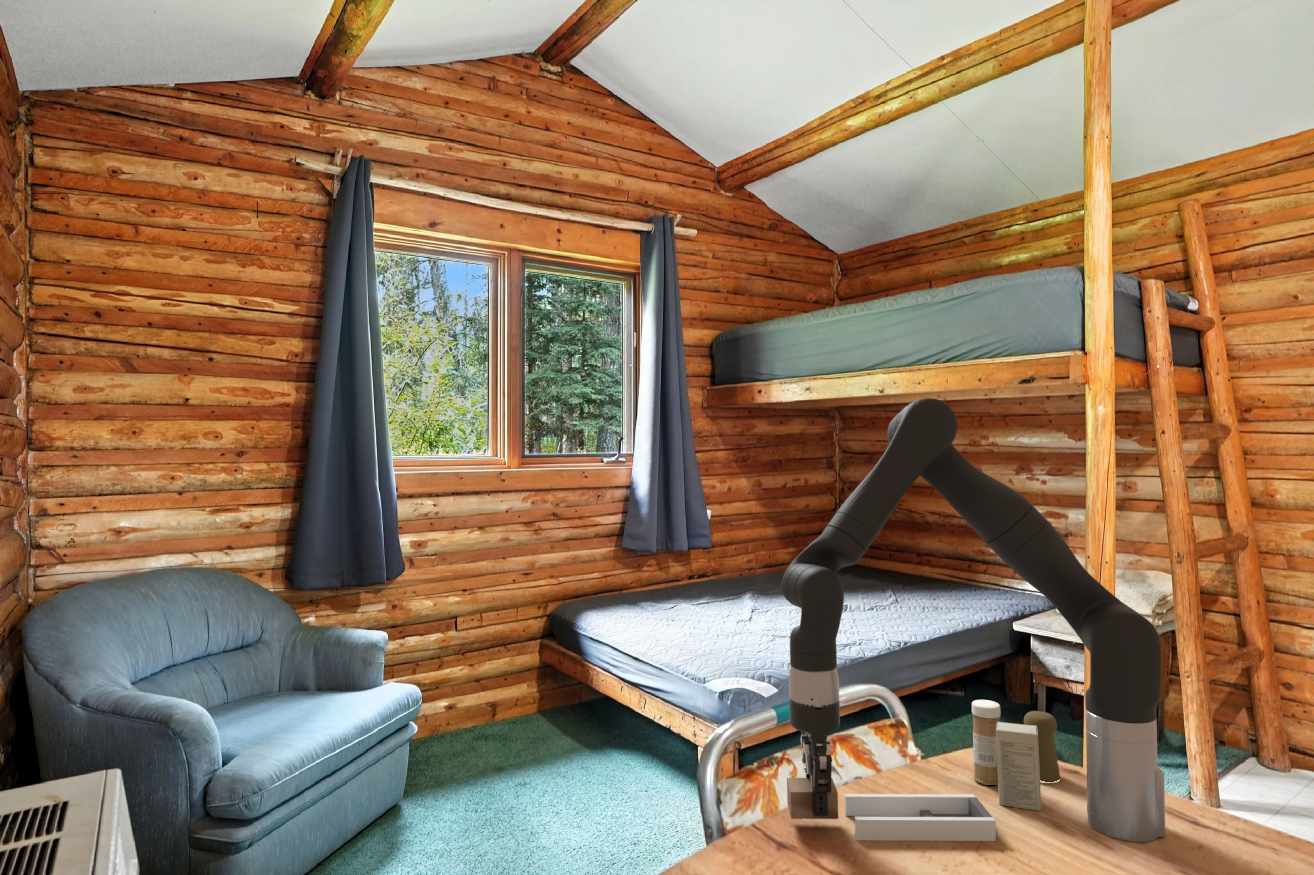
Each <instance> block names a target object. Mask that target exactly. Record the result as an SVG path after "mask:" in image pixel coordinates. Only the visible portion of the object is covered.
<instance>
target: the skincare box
mask: <svg viewBox="0 0 1314 875" xmlns="http://www.w3.org/2000/svg"><path fill="white" fill-rule="evenodd" d="M996 745H997V767H998V785H997V787H998V804H999V806H1006V807H1011V806H1012V808H1013V807H1014V808H1020V809H1026V810H1031V811H1032V810H1033V811H1042V797H1041V796H1042V795H1041V794H1042V793H1041V791H1042V790H1041V783H1040V768H1039V747H1038V729H1037V726H1034V725H1024V723H1023V724H1022V723H1013V722H1012V723H1011V722H1003V721H999V722H997V724H996Z"/></svg>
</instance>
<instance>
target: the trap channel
mask: <svg viewBox="0 0 1314 875" xmlns="http://www.w3.org/2000/svg"><path fill="white" fill-rule="evenodd" d="M844 815H845V817H854V837H855V840H856V841H900V842H901V841H902V842H903V841H906V842H907V841H908V842H909V841H910V842H911V841H912V842H913V841H914V842H915V841H916V842H918V841H920V842H921V841H922V842H925V841H926V842H929V841H930V842H931V841H932V842H935V841H936V842H939V841H940V842H943V841H944V842H958V841H959V842H996V841H997V840H996V839H997V838H996V820H995V819H994V817H993V815H991V814H990V812H989V811H988V809H987V808H986V807H985V806H984V805H983V803H981V801H980V800H979V799H978V797H977V796H976V795H975V794H972V793H971V794H970V793H968V794H965V793H963V794H961V793H960V794H959V793H957V794H955V793H954V794H953V793H950V794H948V793H942V794H941V793H939V794H938V793H934V794H933V793H844Z"/></svg>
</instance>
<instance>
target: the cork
mask: <svg viewBox="0 0 1314 875" xmlns="http://www.w3.org/2000/svg"><path fill="white" fill-rule="evenodd" d="M1023 724H1024V725H1034V726H1037V729H1038V747H1039V768H1040V780H1041V781H1045V782H1054V781H1057V780H1059V779H1061V774H1060V773H1061V772H1060V767H1059V760H1058V756H1057V748H1056V743H1055V736H1054V735H1055V733H1056V732H1057V729H1058V723H1057V720H1056V718H1055V716H1054V715H1052V714H1051V713H1049V712H1046V711H1041V710H1040V711H1039V710H1031V711H1028V712H1026V714H1024V718H1023ZM1057 762H1058V763H1057Z"/></svg>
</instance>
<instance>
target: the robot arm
mask: <svg viewBox="0 0 1314 875" xmlns="http://www.w3.org/2000/svg"><path fill="white" fill-rule="evenodd" d="M957 433H958V420H957V416H956V414H955V412H954V410H953V409H952V408H951V407H950V405H948V404H947V403H946V402H944V401H943V400H940V399H937V398H933V397H932V398H931V397H927V398H925V397H924V398H920V399H916V400H915V401H913V402H911V403H909V404H908V405H906V406H905V407H904V408H902V410H900V411H899V412H898V413H897V414H896V415H895V416H894V417H893V418H892V420H891V421H890V422H889V424H888V427H887V433H886V434H887V442H888V444H889V445H888V446H887V448H886V450H885V451H884V453H883V454H882V455H881V457H880V458H879V460H878V461H877V462H876V464H875V465H874V467H873V468H872V469H871V470H870V471H869V473H868V474H866V476H865V477H864V479H863V480H862V481H861V482H860V483H859V484H858V485H857V487H856V488H855V489H854V490H853V491H852V492H851V493H850V494H849V496H848V497H847V498H846V499H845V501H844V502H843V503H842V504H841V506H840V507H839V509H838V510H837V511H836V513H835V514H834V515H833V517H832V518H831V520H830V521H829V523H828V524H827V525H826V527H825V528H824V529H823V530H822V533H821V534H819V536H818V537H817V538H816V539H814V540H813V541H812V542H811V543H809V545H807V547H806V548H804V549H803V550H802V551H801V552H800V553H799V554H798V555H797V556H796V557H795V558H794V559H793V560H792V561H791V563H790V564H789V565H788V567H787V569H786V570H785V571H784V574H783V576H782V579H781V580H782V581H781V592H782V595H783V597H784V598H785V600H786V601H788V603H790V605H793V606H795V607H796V608H800V609H801V610H800V611H801V614H800V623H799V625H798V626H795V627H794V628H793V629H792V630H791V632H790V636H789V640H790V641H789V657H790V658H789V660H790V663H789V664H790V667H789V676H788V688H789V689H788V690H789V691H788V693H789V695H788V697H789V722H790V726H791V727H792V728H793V729H795V730H797V731H798V732H800V734H801V735H800V744H801V757H802V758H801V761H802V763H803V764H802V765H804V766H803V770H804V773H805V778H811V789H812V812H813V815H814V816H827V815H828V798H827V793H831V790H832V788H831V778H832V766H833V765H832V764H833V763H832V762H833V757H832V755H831V754H832V749H831V741H828V736H827V735H828V734H829V733H834V732H835V731H836V730H838V729H839V728H840V726H841V714H840V713H841V711H840V710H841V709H840V707H841V706H840V703H841V702H840V681H839V680H840V678H839V673H838V663H837V662H838V658H837V657H838V656H837V655H838V654H837V653H838V652H837V649H838V648H837V638H838V632H839V630H840V625H841V619H842V617H843V616H842V615H843V611H844V610H843V609H844V602H845V595H844V592H845V591H844V587H843V583H842V581H841V578H840V577H839V576H838V574H837V573H838V572H839V571H840V570H841V569H843V568H845V567H849V566H850V567H851V566H854V565H856V564H858V563H859V561H860V560H861V559H862V558H863V556H864V555H865V553H867V550H868V549H869V548H870V546H871V545H872V543H873V542H874V540H875V539H876V538H877V536H878V534H879V533H880V532H881V530H882V529H883V527H884V525H885V524H886V522H887V521H888V519H890V517H891V515H892V514H893V512H894V511H895V510H896V508H897V506H898V504H899V503H900V502H901V501H902V499H903V497H904V496H905V494H906V493H907V492H908V491H909V489H910V488H911V487H912V485H913V484H914V483H915V482H916V480H917V479H918V478H919V477H921V478H922V479H923V480H924V481H926V483H928V484H929V485H930V486H931V487H933V488H934V489H935V490H936V491H937V492H938V494H940V495H941V496H942V497H943V499H944V500H946V502H947V503H948V504H949V505H950V506H951V508H953V509H954V510H955V512H956V513H957V514H958V515H959V516H960V517H961V518H962V519H963V520H964V521H965V522H966V523H967V525H969V527H971V529H973V531H974V532H975V533H976V534H977V535H978V536H979V538H980V539H982V541H983V542H984V543H985V544H986V545H987V546H988V547H989V548H990V550H992V551H993V552H994V554H995V555H997V557H999V559H1000V560H1001V561H1002V562H1004V564H1005V565H1007V566H1008V567H1009V568H1010V569H1012V571H1013V572H1014V573H1016V574H1017V575H1018V576H1019V577H1020V578H1022V579H1023V580H1024V581H1025V582H1027V583H1028V584H1029V585H1030V586H1031V587H1033V588H1034V589H1035V590H1037V591H1038V592H1039V593H1041V594H1042V595H1043V597H1045V598H1046V599H1047V600H1048V601H1049V602H1050V603H1051V604H1052V605H1053V607H1055V609H1056V610H1057V611H1058V612H1059V614H1060V615H1062V617H1063V618H1064V619H1065V621H1066V622H1067V624H1068V625H1069V626H1070V627H1071V629H1072V630H1073V631H1074V632H1075V634H1076V635H1077V636H1078V638H1079V639H1080V641H1081V642H1082V644H1083V645H1084V647H1086V649H1087V650H1088V652H1089V654H1090V655H1089V657H1090V659H1089V660H1090V662H1089V663H1090V666H1089V667H1090V669H1089V670H1090V673H1089V675H1090V680H1089V681H1090V682H1089V686H1088V688H1087V689H1086V691H1085V695H1084V696H1085V698H1084V699H1085V704H1084V705H1085V736H1086V737H1085V741H1086V742H1085V744H1086V746H1085V747H1086V748H1085V749H1086V750H1085V752H1086V793H1087V795H1086V796H1087V797H1086V799H1087V800H1086V801H1087V802H1086V804H1087V805H1086V811H1087V812H1086V813H1087V823H1088V824H1089V825H1090V826H1091V827H1092V828H1093V829H1095V831H1096V830H1097V831H1098V832H1100V833H1102V834H1103V835H1106V836H1108V837H1112V838H1115V839H1117V840H1118V839H1119V840H1122V841H1128V842H1135V843H1136V842H1137V843H1139V842H1140V843H1143V842H1151V841H1154V840H1155V839H1158V838H1161V837H1162V838H1164V837H1166V806H1165V805H1166V801H1165V798H1166V797H1165V795H1166V794H1165V772H1164V771H1163V770H1162V769H1160V768H1159V767H1158V739H1157V738H1158V730H1157V729H1158V728H1157V725H1158V724H1157V709H1158V708H1157V707H1158V705H1159V703H1160V700H1161V695H1162V694H1161V693H1162V646H1161V640H1160V635H1159V633H1158V630H1157V628H1156V627H1155V626H1154V624H1152V622H1151V621H1150V620H1148V618H1146V617H1145V616H1144V615H1142V614H1140V613H1139V612H1138V611H1136V610H1134V609H1133V608H1132V607H1130V606H1128V605H1127V604H1125V603H1124V602H1123V601H1121V600H1120V599H1118V598H1117V597H1116V596H1115V595H1114V594H1113V593H1112V592H1110V591H1109V590H1108V589H1107V588H1105V586H1103V585H1102V584H1101V582H1099V581H1098V580H1097V579H1095V578H1094V577H1093V576H1092V575H1091V574H1090V573H1089V572H1088V571H1087V570H1086V568H1084V566H1083V565H1082V563H1080V561H1079V560H1078V558H1077V557H1076V555H1075V553H1074V552H1073V551H1072V549H1071V548H1070V547H1069V545H1068V543H1067V542H1066V541H1065V540H1064V538H1063V537H1062V536H1061V534H1060V533H1059V532H1058V531H1057V529H1056V528H1055V527H1054V525H1052V524H1051V522H1049V521H1048V519H1047V518H1046V517H1045V516H1044V515H1043V514H1042V513H1041V512H1040V511H1039V510H1038V509H1037V508H1036V507H1035V506H1034V505H1033V504H1032V503H1031V502H1030V501H1029V500H1028V499H1026V497H1024V496H1023V495H1022V494H1020V493H1019V492H1017V491H1016V490H1015V489H1013V488H1011V487H1010V486H1008V485H1006V484H1005V483H1003V482H1001V481H999V480H997V479H995V478H994V477H992V476H990V475H988V474H987V473H985V472H984V471H982V470H980V469H979V468H977V467H976V466H974V465H973V464H972V463H971V462H970V461H969V460H967V459H966V458H965V457H964V456H963V455H962V453H960V451H959V450H958V449H957V448H956V447H955V446H954V444H953V443H954V440H955V439H956V435H957ZM820 779H824V783H818V780H820Z"/></svg>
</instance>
